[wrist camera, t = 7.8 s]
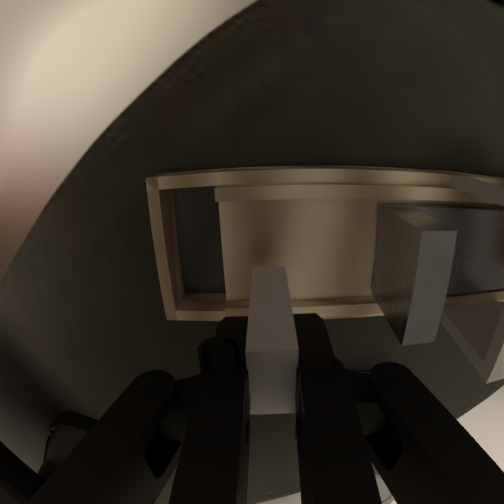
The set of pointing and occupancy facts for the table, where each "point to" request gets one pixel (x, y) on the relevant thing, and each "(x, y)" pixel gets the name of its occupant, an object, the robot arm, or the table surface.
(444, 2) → the table surface
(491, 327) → the tunnel
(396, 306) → the sled
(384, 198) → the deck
